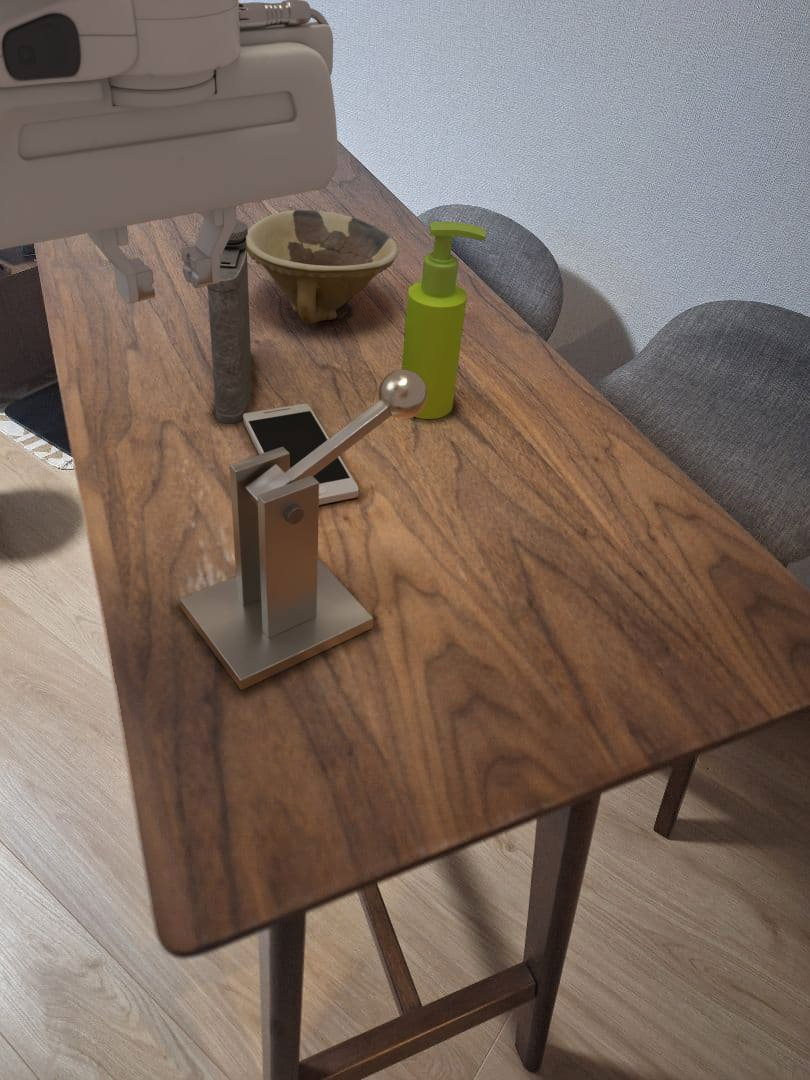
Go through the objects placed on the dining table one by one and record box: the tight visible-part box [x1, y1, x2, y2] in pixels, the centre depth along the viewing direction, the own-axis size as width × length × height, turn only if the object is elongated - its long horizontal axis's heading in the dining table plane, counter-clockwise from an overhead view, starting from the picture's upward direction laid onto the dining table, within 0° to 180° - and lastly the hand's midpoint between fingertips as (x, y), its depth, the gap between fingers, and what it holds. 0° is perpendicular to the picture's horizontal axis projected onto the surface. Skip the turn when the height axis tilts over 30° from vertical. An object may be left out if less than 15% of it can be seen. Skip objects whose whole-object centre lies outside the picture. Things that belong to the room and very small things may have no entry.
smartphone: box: [242, 402, 360, 506], centre depth 90 cm, size 7×16×1 cm, turn 23°
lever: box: [246, 369, 427, 506], centre depth 66 cm, size 15×4×4 cm, turn 126°
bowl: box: [246, 209, 399, 325], centre depth 111 cm, size 18×18×10 cm
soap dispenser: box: [401, 221, 487, 420], centre depth 93 cm, size 6×7×20 cm
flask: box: [206, 218, 253, 425], centre depth 93 cm, size 4×14×18 cm, turn 6°
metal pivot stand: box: [179, 447, 374, 691], centre depth 69 cm, size 12×10×15 cm
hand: (170, 289), depth 51 cm, fingers open, 3 cm apart
